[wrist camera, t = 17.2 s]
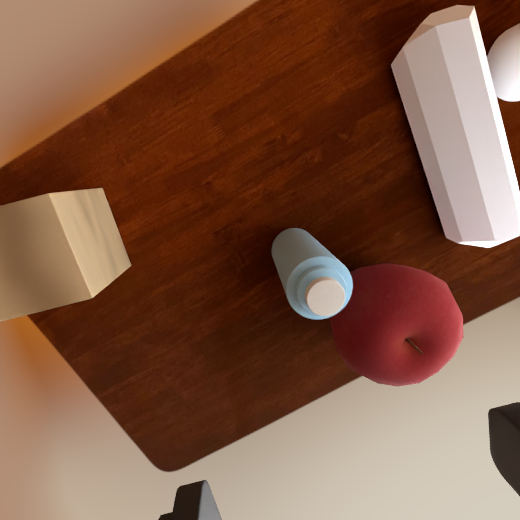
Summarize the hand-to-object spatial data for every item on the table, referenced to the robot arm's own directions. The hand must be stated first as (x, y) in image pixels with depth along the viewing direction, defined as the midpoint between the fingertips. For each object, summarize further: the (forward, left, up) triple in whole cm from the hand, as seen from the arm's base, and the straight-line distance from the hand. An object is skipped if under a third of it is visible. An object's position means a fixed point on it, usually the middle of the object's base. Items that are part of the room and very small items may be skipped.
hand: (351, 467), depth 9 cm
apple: (+10, -9, -29) cm, 32 cm away
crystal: (+22, +6, -29) cm, 37 cm away
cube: (-20, +6, -29) cm, 36 cm away
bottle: (+3, -2, -29) cm, 29 cm away
